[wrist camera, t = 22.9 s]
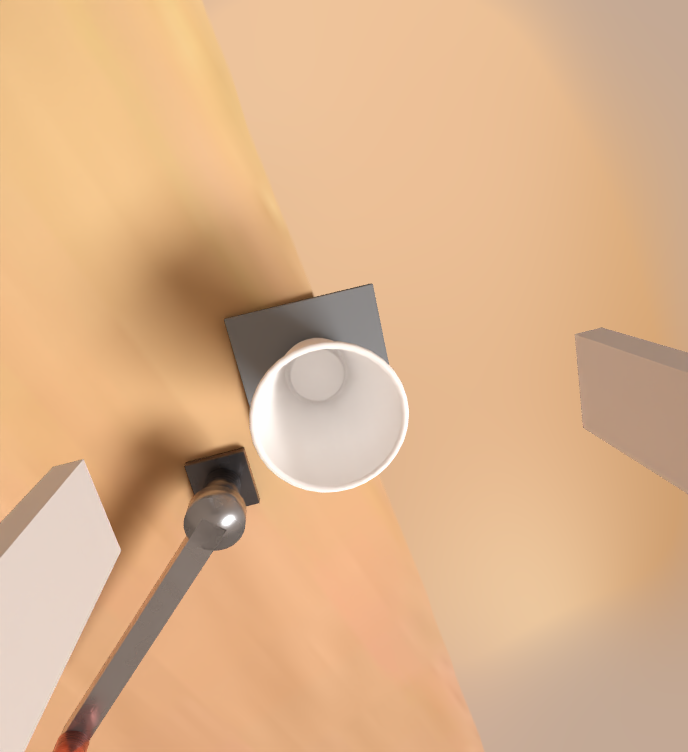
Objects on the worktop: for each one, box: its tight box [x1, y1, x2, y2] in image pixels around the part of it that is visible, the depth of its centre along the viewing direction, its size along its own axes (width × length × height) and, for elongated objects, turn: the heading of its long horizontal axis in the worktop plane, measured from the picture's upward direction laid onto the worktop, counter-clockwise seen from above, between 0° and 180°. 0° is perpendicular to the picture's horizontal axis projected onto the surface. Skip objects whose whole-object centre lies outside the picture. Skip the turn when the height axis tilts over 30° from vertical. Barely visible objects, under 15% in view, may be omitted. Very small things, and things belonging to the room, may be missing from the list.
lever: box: [53, 486, 246, 752], centre depth 39 cm, size 4×26×5 cm, turn 147°
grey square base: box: [185, 448, 260, 506], centre depth 42 cm, size 5×5×5 cm
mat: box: [224, 284, 389, 407], centre depth 42 cm, size 12×12×1 cm
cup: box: [249, 338, 409, 492], centre depth 37 cm, size 10×10×11 cm
